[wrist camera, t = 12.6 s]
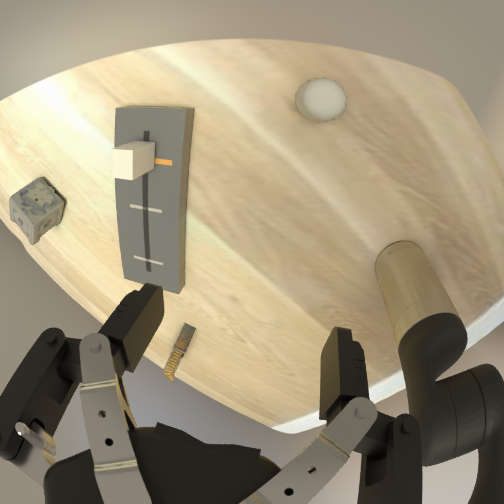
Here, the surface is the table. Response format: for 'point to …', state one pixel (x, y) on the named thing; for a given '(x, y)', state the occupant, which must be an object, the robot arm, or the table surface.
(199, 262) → the table surface
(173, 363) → the rusty notched block
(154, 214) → the fader console
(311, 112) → the salt shaker
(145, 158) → the fader knob
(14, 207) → the incense holder
